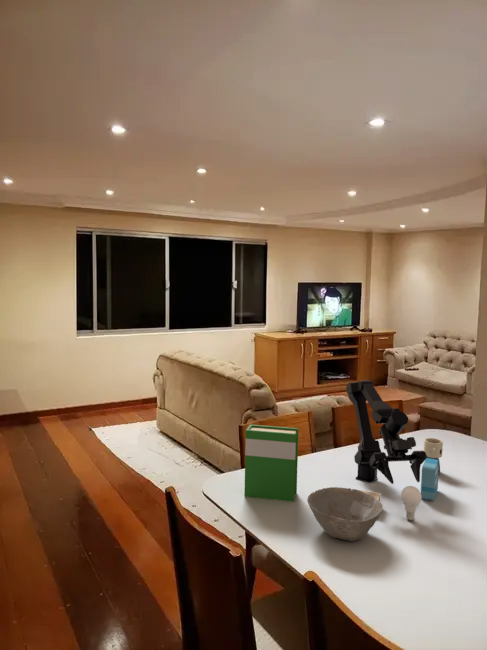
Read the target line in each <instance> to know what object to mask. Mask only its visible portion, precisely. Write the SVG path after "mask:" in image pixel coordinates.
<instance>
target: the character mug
mask: <svg viewBox="0 0 487 650" xmlns="http://www.w3.org/2000/svg"><path fill="white" fill-rule="evenodd" d="M443 443H444V441H443V440H441V439H438V438H435V437H433V438H432V437H427V438H424V440H423V451H424V452H425V453H426V455H427V458H430V459H436V460H439V472H438V474H440V472H441V463H440V458H442V457H443V449H444V448H443V446H444V444H443Z"/></svg>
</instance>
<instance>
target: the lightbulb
mask: <svg viewBox="0 0 487 650" xmlns="http://www.w3.org/2000/svg"><path fill="white" fill-rule="evenodd" d="M400 497H401V498H400V500H401V501H402V503H403V505H404V509H405V518H406V519H407V520H408V521H412V520H413V521H414V520H415V515H416V511H417V507H418V506H419V505H420V504H421V502H422V500H423V499H422V496H421V490H420V489H418V488H417V487H415V486H412V485H409V486H405V487H404V488H403V489H402V490H401V493H400Z"/></svg>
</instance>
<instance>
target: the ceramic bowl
mask: <svg viewBox="0 0 487 650" xmlns="http://www.w3.org/2000/svg"><path fill="white" fill-rule="evenodd" d="M360 490H361V489H356V488H355V489H354V488H350V487H349V488H347V487H346V488H345V487H339V486H335V487H327V488H326V487H324V488H320V489H317V490H315V491H312V492H311V493H310V494H309V495H308V496H307V499H306V501H307V503H308V506H309V508H310V510H311V513H312V514H313V516H314V518H315V519H316V522H318V524H319V525H320V527H321V528H322V530H323V531H324V532H325V533H326V534H327V535H329V536H330V537H332V538H336V539H337V540H338V539H340V540H343V541H349V542H354V541H358V540H360V539H363V538H364V536H366V535H367V534H368V533H369V531H370V529H372V528H373V526H375V523H376V522H377V520H378V519H379V517H380V515H381V513H382V512H383V509H384V508H383V507H384V506H383V504H382V502H381V501H380V502H379V501H378V500H377V499H376V498H375V497H373V496H371V495H369V494H367V493H364V492H362V491H360Z"/></svg>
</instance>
